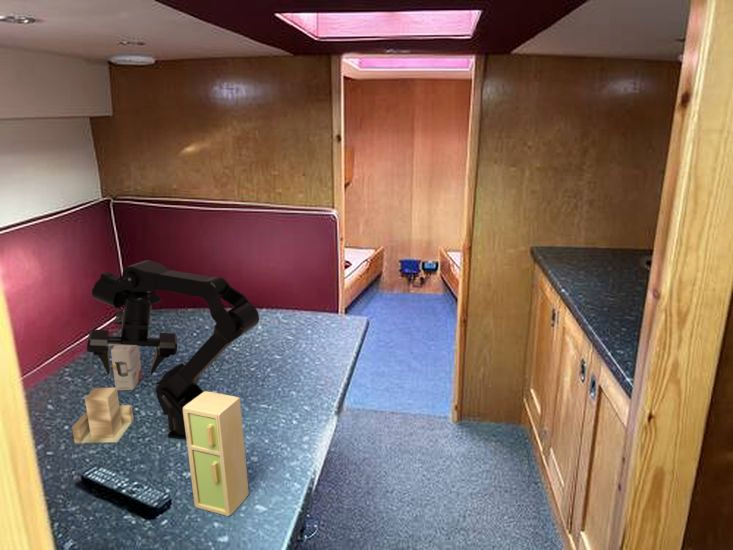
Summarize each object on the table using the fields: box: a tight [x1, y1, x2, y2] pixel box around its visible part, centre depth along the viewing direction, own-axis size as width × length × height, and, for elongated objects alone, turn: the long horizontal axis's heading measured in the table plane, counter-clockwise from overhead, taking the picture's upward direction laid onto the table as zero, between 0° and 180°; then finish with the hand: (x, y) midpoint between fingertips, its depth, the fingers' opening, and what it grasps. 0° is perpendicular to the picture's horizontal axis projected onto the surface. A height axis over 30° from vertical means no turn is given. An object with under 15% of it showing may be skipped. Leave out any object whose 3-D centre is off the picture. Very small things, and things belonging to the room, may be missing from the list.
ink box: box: [110, 345, 143, 391], centre depth 150 cm, size 9×5×12 cm, turn 6°
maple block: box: [84, 387, 122, 438], centre depth 127 cm, size 5×5×10 cm
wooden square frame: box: [71, 404, 134, 444], centre depth 128 cm, size 10×10×4 cm
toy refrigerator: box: [183, 390, 250, 517], centre depth 102 cm, size 8×7×21 cm
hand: (130, 373), depth 130 cm, fingers open, 9 cm apart
